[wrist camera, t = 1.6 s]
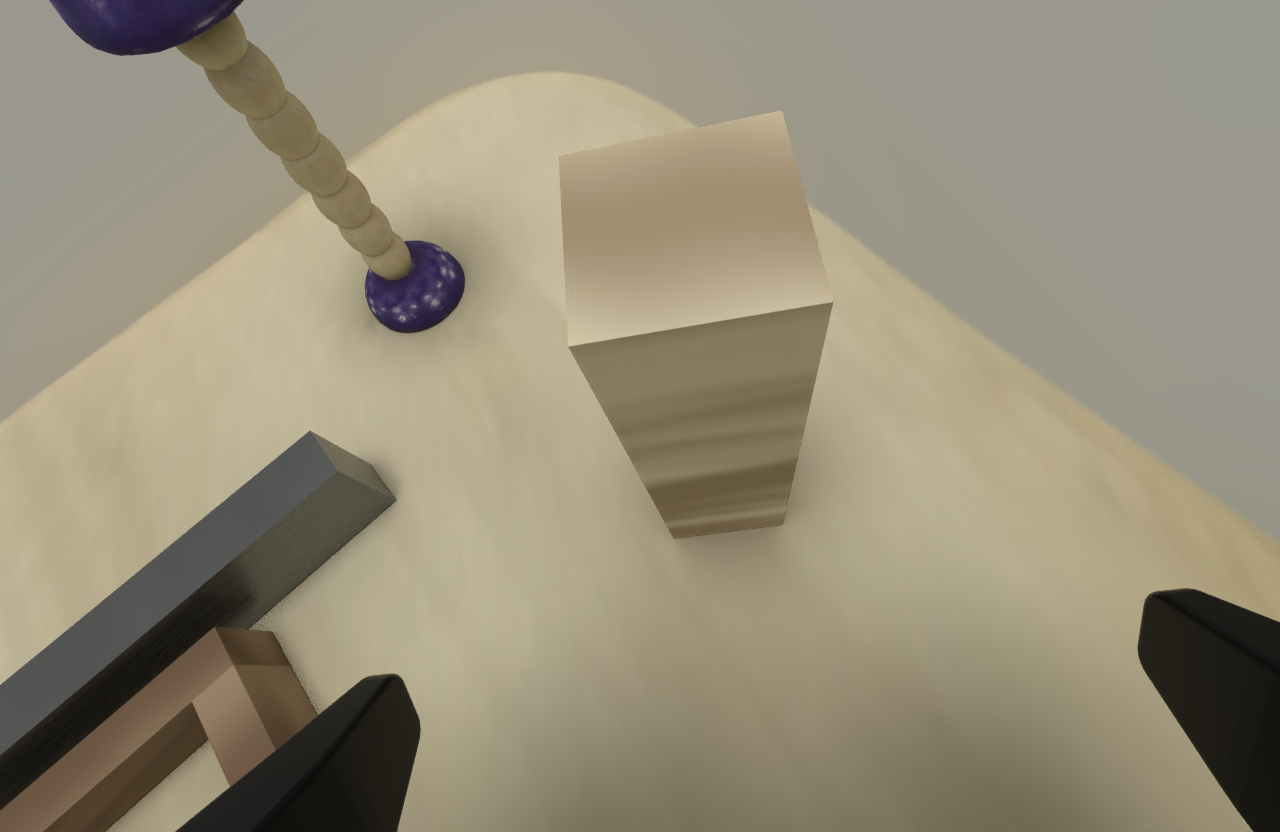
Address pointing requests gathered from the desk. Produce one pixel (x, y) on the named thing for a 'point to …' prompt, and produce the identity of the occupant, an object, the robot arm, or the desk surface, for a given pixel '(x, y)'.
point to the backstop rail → (186, 600)
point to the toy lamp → (282, 142)
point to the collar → (171, 733)
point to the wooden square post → (698, 313)
